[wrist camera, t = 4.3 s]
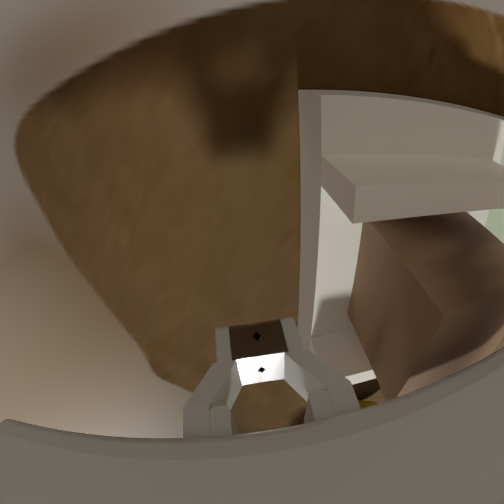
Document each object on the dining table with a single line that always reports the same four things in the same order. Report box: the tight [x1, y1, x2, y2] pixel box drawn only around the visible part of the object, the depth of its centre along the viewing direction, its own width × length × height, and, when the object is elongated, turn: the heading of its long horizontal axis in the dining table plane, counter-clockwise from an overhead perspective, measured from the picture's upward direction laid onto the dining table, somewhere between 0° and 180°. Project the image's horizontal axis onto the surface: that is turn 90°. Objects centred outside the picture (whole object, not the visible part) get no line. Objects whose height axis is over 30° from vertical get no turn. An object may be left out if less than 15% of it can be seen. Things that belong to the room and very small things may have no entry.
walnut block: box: [347, 212, 504, 401], centre depth 11 cm, size 6×6×6 cm
